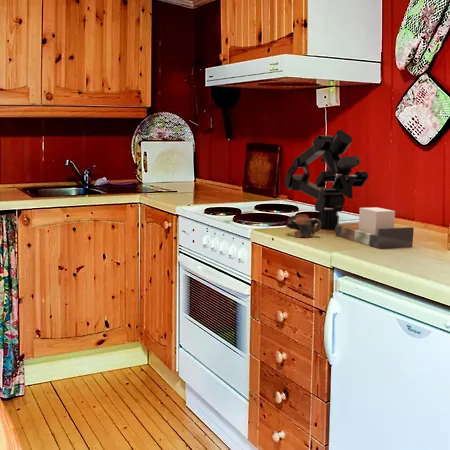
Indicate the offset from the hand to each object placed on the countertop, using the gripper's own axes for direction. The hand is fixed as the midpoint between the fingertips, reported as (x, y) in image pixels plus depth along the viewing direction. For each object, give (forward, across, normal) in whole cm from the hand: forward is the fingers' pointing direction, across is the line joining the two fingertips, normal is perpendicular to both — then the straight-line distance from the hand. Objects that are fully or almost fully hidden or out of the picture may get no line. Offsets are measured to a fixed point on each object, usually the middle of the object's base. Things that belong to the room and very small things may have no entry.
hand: (351, 197), depth 213 cm
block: (+18, 0, -3) cm, 18 cm away
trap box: (+18, 0, 0) cm, 18 cm away
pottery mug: (+8, -17, +10) cm, 22 cm away
